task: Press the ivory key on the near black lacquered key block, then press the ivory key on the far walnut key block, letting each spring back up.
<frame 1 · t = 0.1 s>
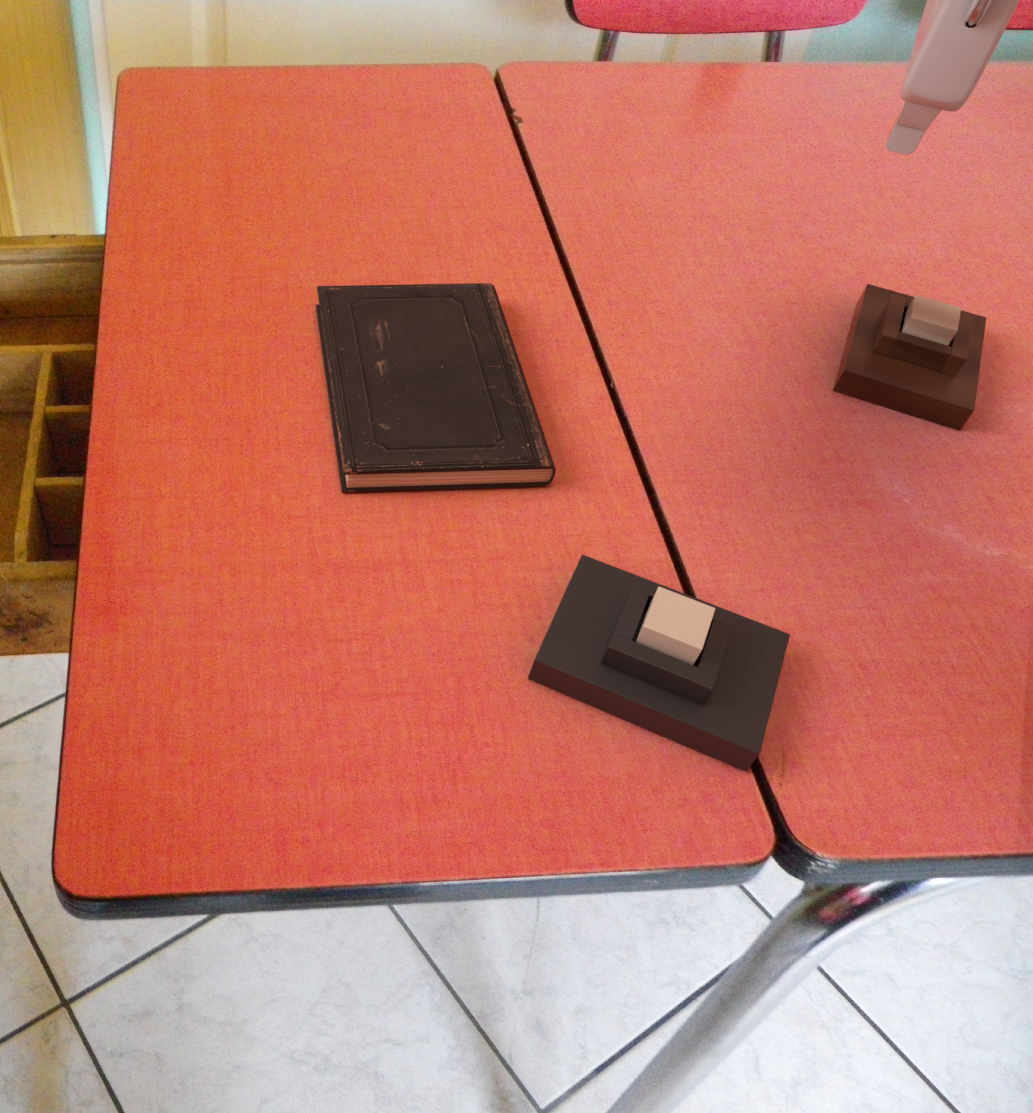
hand: (907, 118, 69), 22 cm above the table, tool pointing down, fingers open, 8 cm apart
far block: (905, 363, 88), on the table
near block: (654, 665, 67), on the table
near key: (675, 625, 63), point 4 cm above the table, slide at 0.1 cm
hardcover book: (423, 391, 84), on the table
far key: (931, 320, 85), point 4 cm above the table, slide at 0.1 cm
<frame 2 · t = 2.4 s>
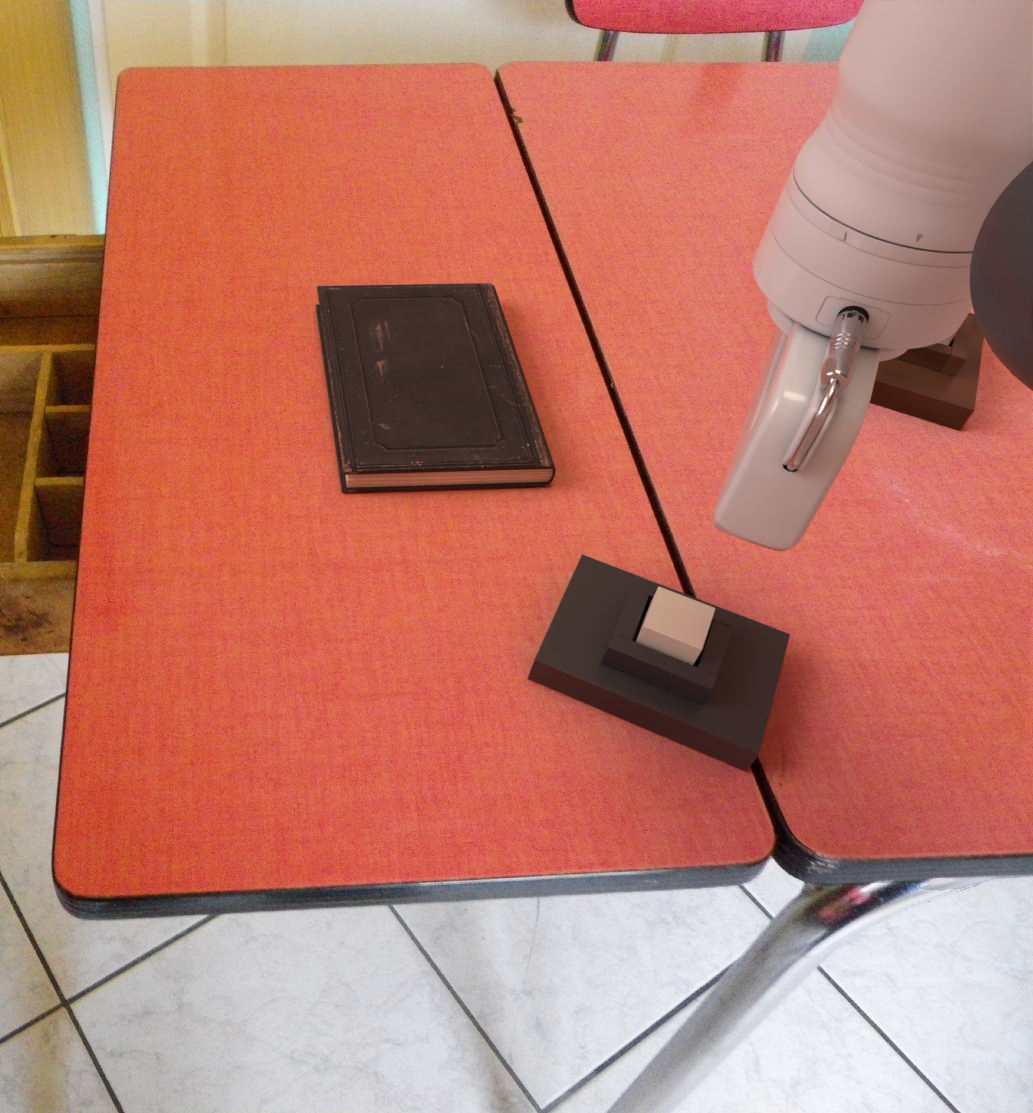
hand: (751, 483, 54), 17 cm above the table, tool pointing down, fingers open, 4 cm apart
nothing on the table moved.
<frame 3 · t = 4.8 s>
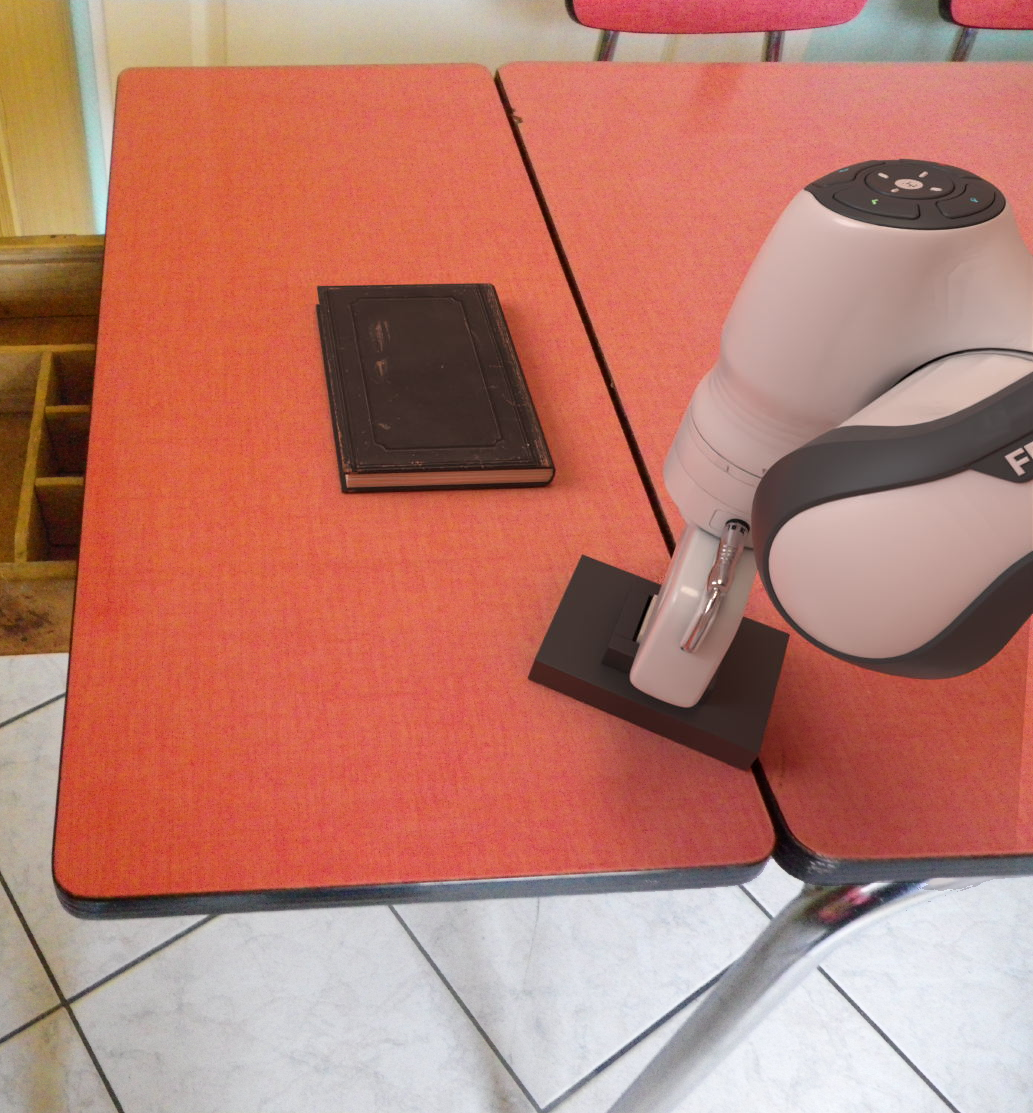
hand: (673, 625, 63), 5 cm above the table, tool pointing down, fingers closed, pressing on near key
near key: (671, 633, 64), point 4 cm above the table, slide at -0.7 cm, touching gripper
everything else where it was.
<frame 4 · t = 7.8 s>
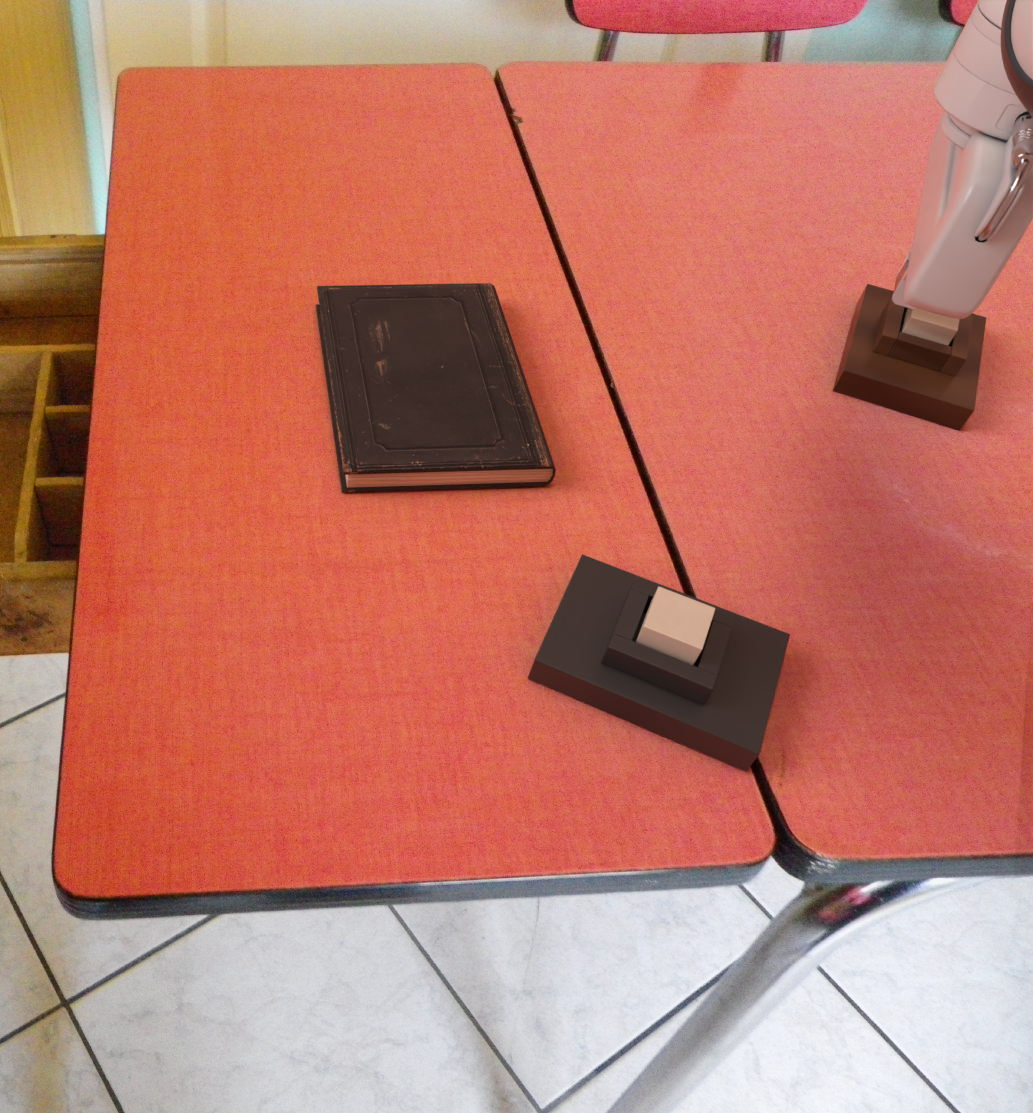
hand: (906, 295, 65), 17 cm above the table, tool pointing down, fingers closed
near key: (675, 625, 63), point 4 cm above the table, slide at 0.1 cm
everything else where it was.
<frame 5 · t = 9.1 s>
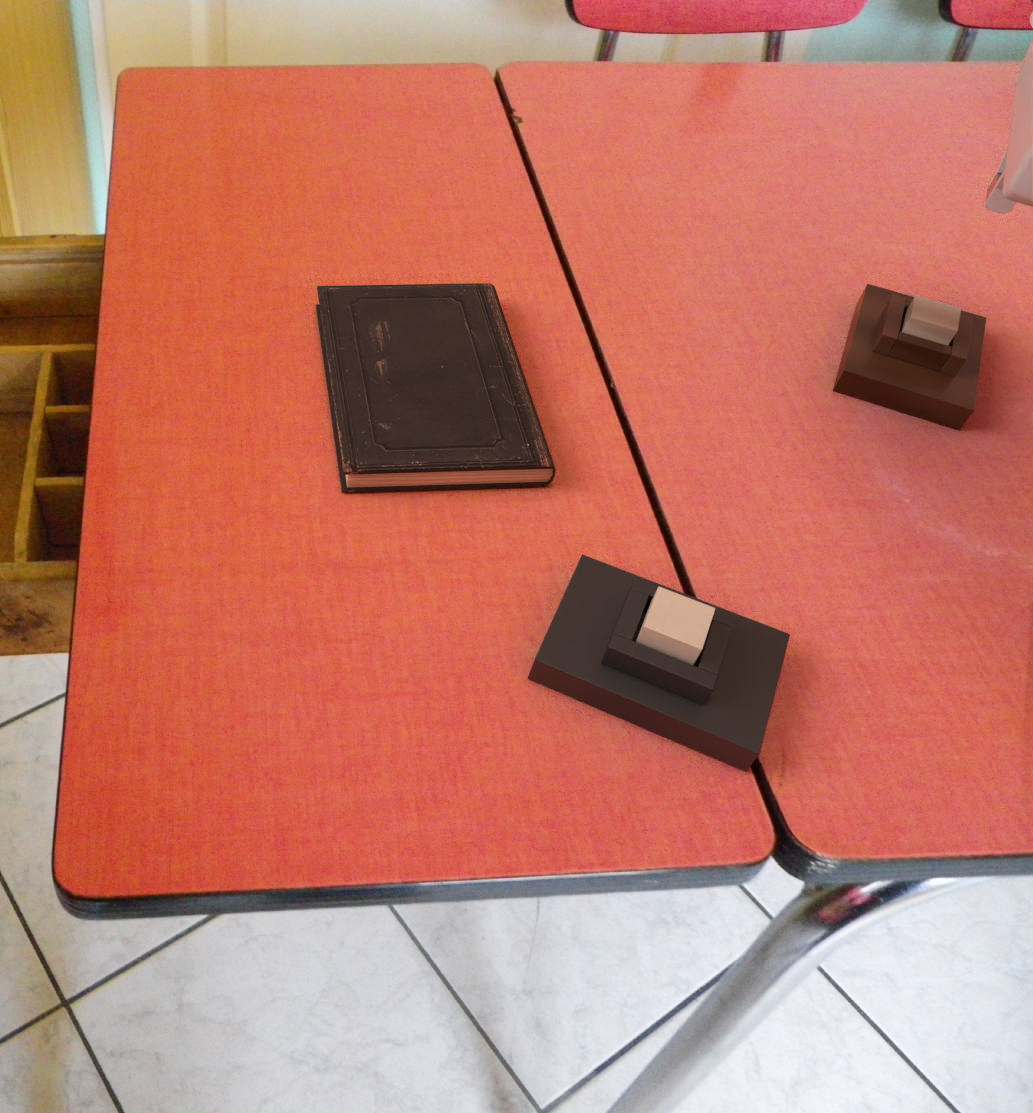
hand: (996, 203, 76), 15 cm above the table, tool pointing down, fingers closed
nothing on the table moved.
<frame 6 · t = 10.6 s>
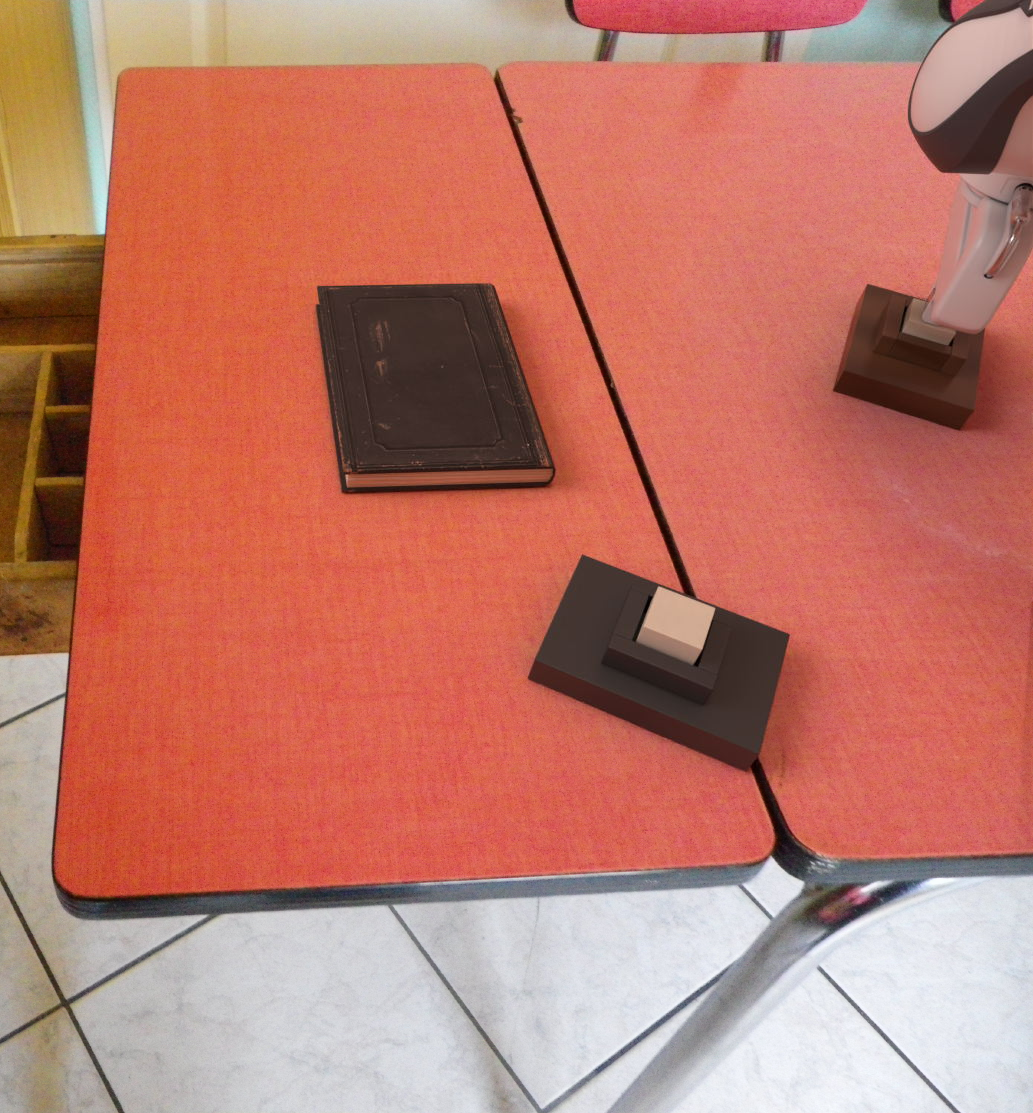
hand: (932, 314, 84), 5 cm above the table, tool pointing down, fingers closed, pressing on far key
far key: (929, 324, 85), point 4 cm above the table, slide at -0.3 cm, touching gripper
everything else where it was.
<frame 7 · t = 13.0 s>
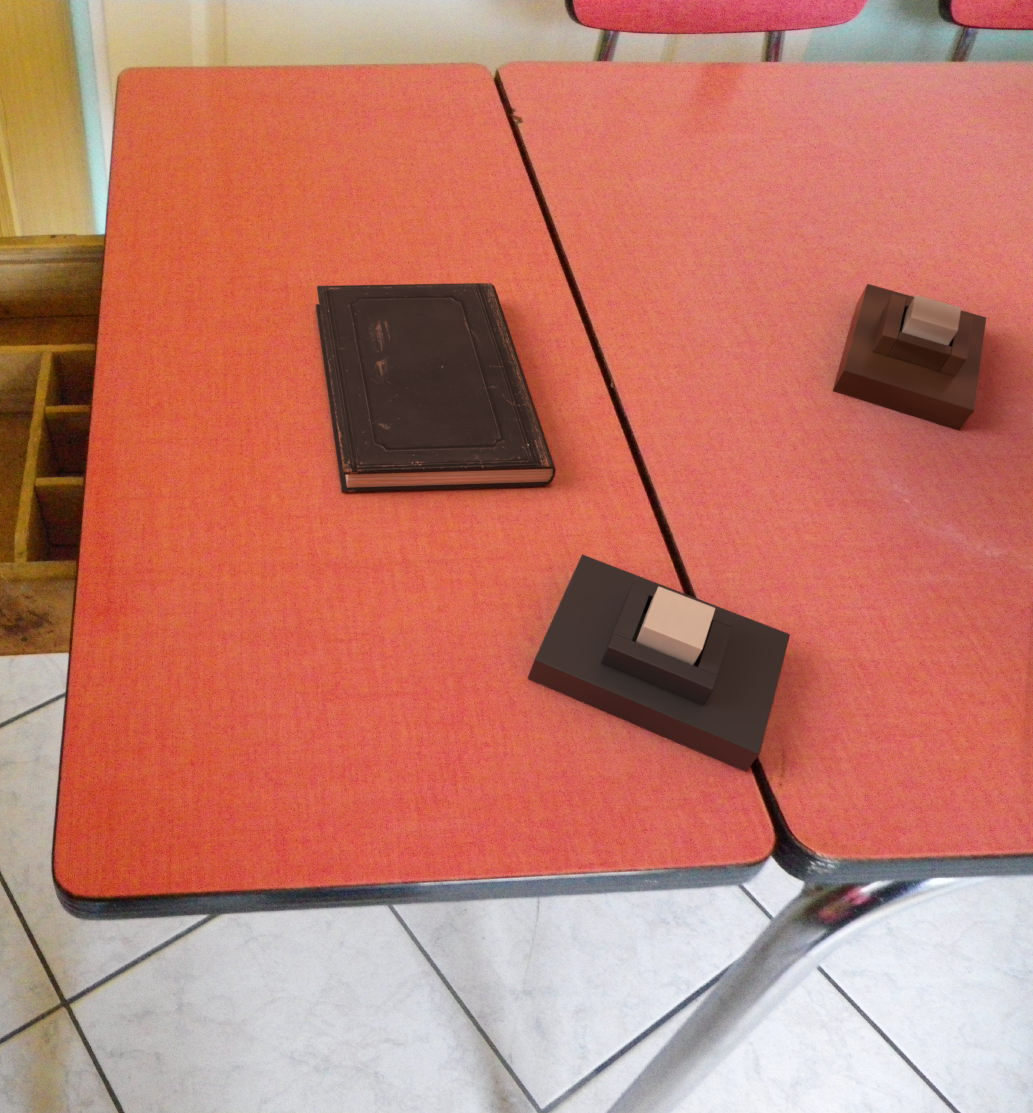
far key: (931, 320, 85), point 4 cm above the table, slide at 0.1 cm
everything else where it was.
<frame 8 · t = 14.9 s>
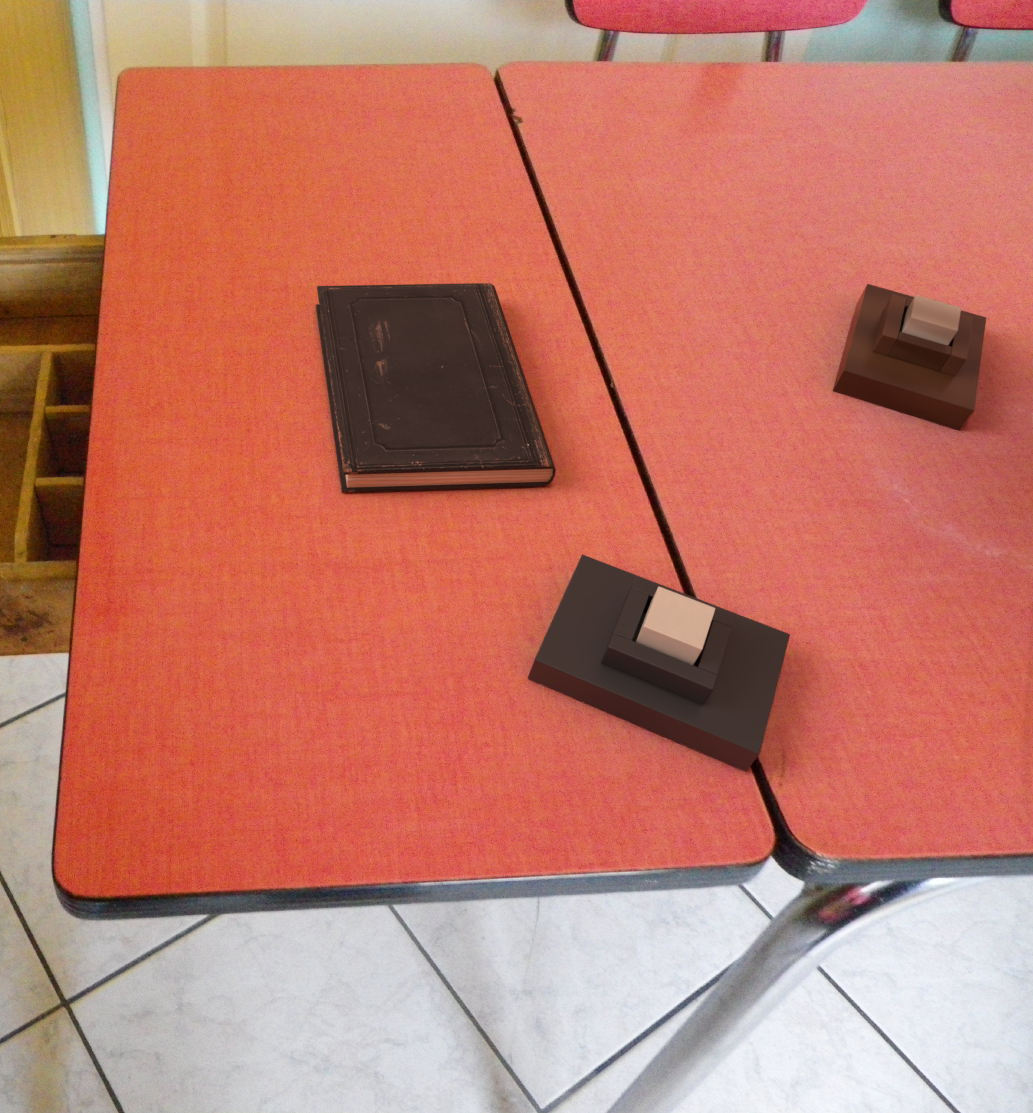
nothing on the table moved.
at the end: near key pushed in 1.1 cm at the most during the clip, back to where it started at the end; far key pushed in 1.0 cm at the most during the clip, back to where it started at the end; far key slide at 0.1 cm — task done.
